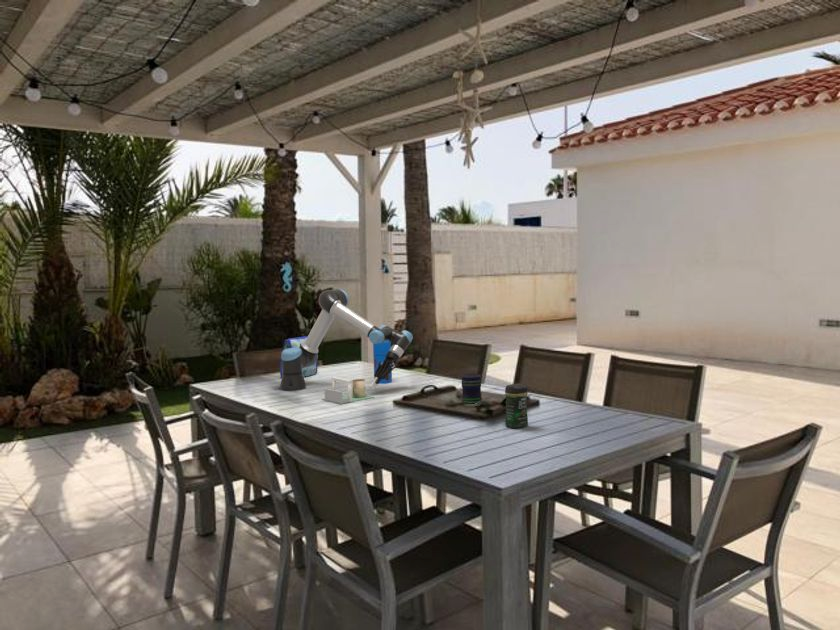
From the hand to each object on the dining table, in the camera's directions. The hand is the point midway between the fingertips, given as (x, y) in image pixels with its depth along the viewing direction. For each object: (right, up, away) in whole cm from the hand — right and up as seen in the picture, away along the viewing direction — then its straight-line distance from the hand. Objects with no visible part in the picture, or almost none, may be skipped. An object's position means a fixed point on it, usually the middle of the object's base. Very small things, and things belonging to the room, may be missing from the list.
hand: (371, 388), depth 370 cm
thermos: (+4, -1, +41) cm, 41 cm away
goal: (-17, -5, -14) cm, 22 cm away
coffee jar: (+68, -8, -79) cm, 105 cm away
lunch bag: (-52, 0, +70) cm, 87 cm away
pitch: (-12, -5, -7) cm, 15 cm away
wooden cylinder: (-6, -4, -5) cm, 9 cm away
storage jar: (+52, -5, -33) cm, 62 cm away
